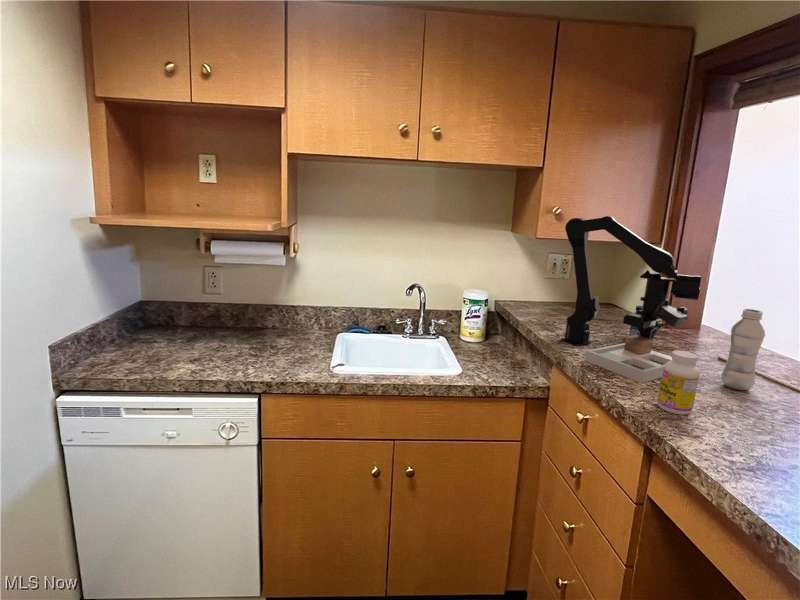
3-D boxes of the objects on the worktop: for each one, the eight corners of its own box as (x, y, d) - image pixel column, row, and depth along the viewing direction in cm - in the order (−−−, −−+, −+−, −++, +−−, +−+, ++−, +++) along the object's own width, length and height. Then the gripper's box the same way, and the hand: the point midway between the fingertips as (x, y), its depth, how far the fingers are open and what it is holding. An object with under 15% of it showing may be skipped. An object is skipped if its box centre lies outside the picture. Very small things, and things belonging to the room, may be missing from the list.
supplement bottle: (650, 401, 101) (660, 348, 98) (677, 402, 102) (688, 348, 99) (669, 416, 94) (681, 359, 92) (698, 416, 95) (711, 359, 92)
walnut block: (624, 349, 131) (626, 336, 130) (634, 347, 133) (636, 334, 132) (640, 355, 127) (642, 341, 126) (650, 352, 129) (652, 339, 128)
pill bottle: (651, 342, 146) (657, 310, 143) (631, 340, 147) (637, 308, 144) (645, 337, 152) (651, 305, 149) (626, 335, 153) (631, 304, 150)
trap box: (584, 360, 126) (586, 350, 125) (632, 350, 137) (634, 341, 136) (641, 383, 112) (643, 371, 111) (689, 369, 122) (692, 359, 122)
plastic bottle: (754, 396, 107) (773, 315, 102) (719, 388, 110) (737, 310, 106) (750, 387, 112) (768, 310, 108) (718, 380, 116) (734, 306, 111)
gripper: (665, 303, 117) (654, 359, 120) (702, 298, 126) (691, 350, 130) (625, 295, 126) (617, 347, 130) (663, 290, 135) (654, 339, 139)
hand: (646, 346), depth 132 cm, fingers closed
